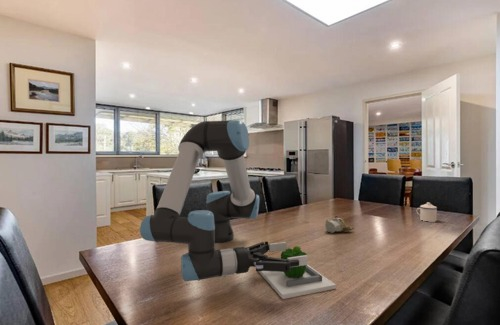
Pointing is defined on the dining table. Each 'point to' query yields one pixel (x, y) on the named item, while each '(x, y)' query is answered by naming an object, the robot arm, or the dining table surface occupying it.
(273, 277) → the board
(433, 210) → the teacup with lid
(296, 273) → the bell pepper
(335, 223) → the garlic bulb
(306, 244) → the dining table surface
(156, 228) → the robot arm
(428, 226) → the dining table surface
